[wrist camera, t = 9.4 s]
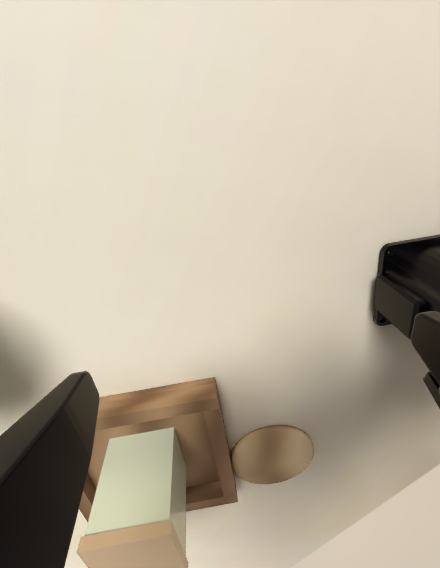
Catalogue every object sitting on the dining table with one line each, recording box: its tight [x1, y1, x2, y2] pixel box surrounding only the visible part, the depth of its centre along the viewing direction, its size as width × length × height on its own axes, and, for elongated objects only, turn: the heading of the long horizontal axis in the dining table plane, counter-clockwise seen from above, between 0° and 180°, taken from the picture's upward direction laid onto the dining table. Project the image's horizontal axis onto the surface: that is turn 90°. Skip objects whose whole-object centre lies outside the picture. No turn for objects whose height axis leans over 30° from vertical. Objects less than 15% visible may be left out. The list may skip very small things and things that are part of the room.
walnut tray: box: [79, 377, 238, 522], centre depth 26 cm, size 14×14×2 cm
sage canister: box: [77, 427, 188, 568], centre depth 23 cm, size 6×6×8 cm
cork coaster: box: [231, 425, 314, 484], centre depth 29 cm, size 8×8×1 cm
